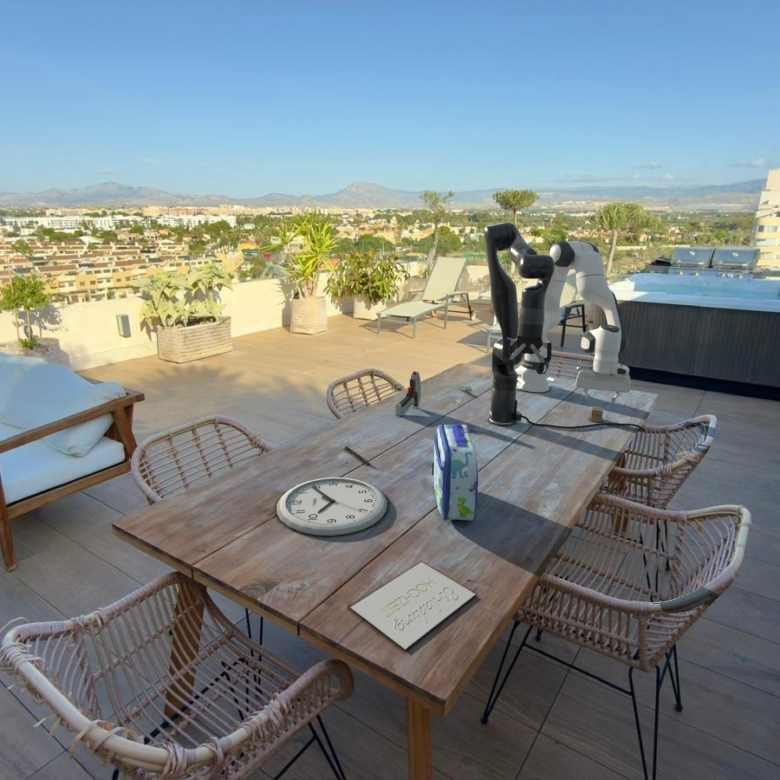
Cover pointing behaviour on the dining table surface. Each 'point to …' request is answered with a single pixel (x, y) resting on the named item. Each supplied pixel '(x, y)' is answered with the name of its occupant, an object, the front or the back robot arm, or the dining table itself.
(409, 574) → the invitation card
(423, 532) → the dining table surface
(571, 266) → the back robot arm
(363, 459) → the dark brown stick
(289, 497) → the wall clock
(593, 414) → the block
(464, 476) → the lunch box
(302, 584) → the dining table surface
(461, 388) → the fork
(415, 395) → the toy gun
